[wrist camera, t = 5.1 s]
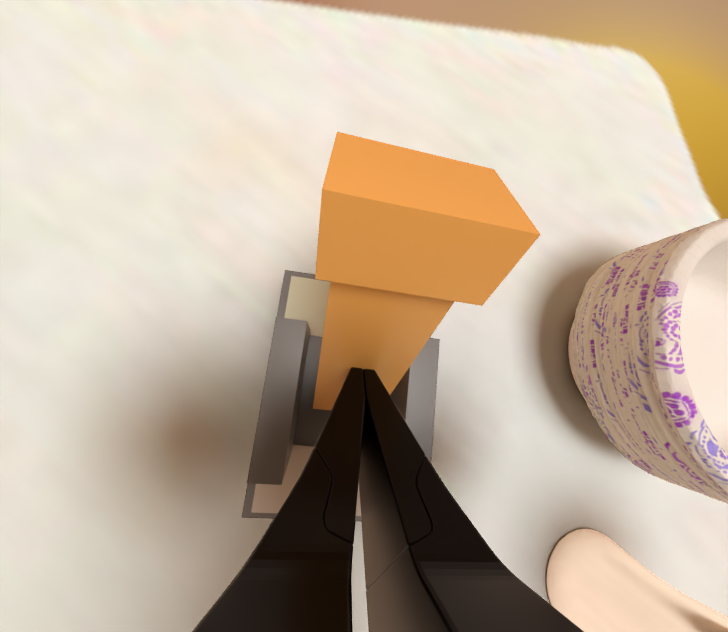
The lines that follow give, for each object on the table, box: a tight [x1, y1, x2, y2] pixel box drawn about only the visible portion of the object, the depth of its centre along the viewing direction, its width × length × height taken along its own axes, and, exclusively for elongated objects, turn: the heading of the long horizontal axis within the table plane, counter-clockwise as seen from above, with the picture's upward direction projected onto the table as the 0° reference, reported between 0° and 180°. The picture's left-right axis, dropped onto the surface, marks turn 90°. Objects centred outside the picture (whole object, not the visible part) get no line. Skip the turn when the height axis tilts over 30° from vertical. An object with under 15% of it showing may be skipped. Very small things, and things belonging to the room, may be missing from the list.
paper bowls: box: [568, 218, 728, 503], centre depth 17 cm, size 15×15×8 cm
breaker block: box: [242, 270, 440, 521], centre depth 13 cm, size 12×8×6 cm, turn 172°
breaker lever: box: [313, 132, 540, 410], centre depth 9 cm, size 3×4×11 cm
